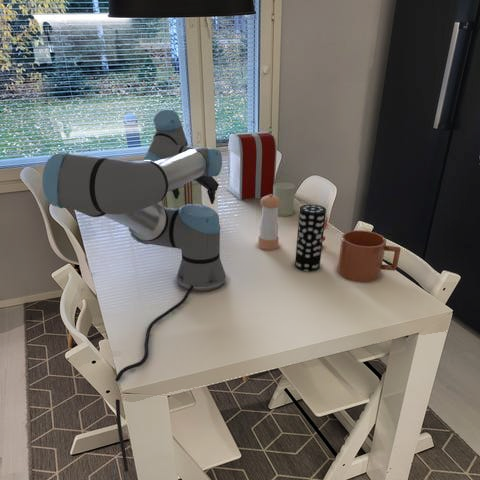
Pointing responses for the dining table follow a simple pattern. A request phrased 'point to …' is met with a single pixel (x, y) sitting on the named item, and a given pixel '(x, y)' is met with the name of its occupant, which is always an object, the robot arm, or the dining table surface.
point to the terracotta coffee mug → (364, 256)
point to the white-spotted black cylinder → (310, 237)
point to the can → (284, 197)
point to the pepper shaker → (269, 223)
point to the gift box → (184, 196)
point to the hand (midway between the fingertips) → (195, 198)
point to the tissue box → (251, 164)
